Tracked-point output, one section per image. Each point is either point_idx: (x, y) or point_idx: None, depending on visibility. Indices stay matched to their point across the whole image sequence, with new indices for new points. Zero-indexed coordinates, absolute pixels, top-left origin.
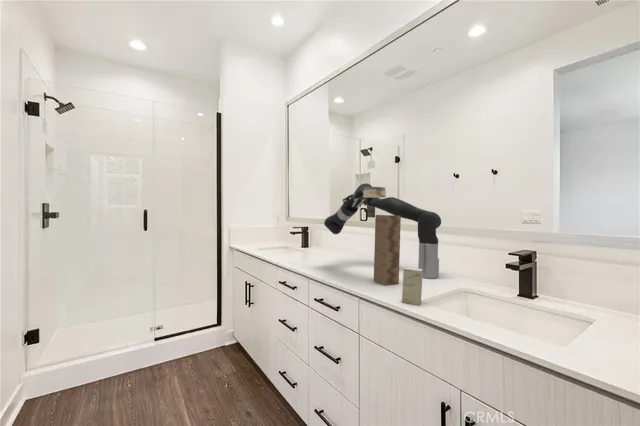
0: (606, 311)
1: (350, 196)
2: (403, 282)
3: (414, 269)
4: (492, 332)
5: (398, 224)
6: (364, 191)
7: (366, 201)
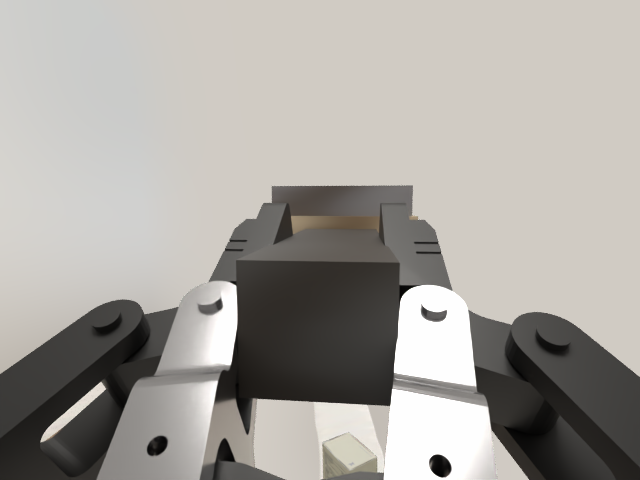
0: (98, 389)
1: (585, 387)
2: None
3: (351, 445)
4: (343, 412)
5: None
6: None
7: (95, 449)
